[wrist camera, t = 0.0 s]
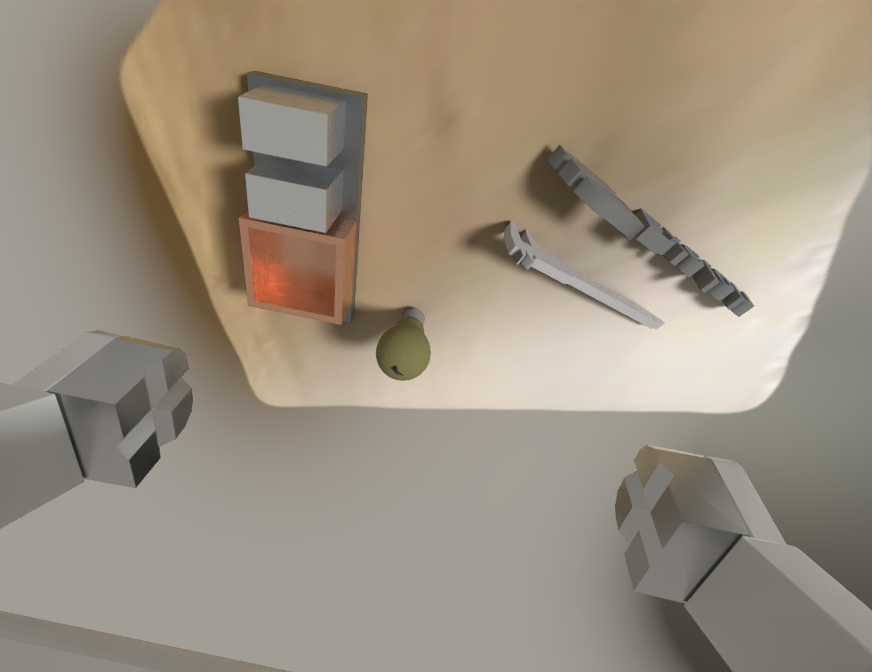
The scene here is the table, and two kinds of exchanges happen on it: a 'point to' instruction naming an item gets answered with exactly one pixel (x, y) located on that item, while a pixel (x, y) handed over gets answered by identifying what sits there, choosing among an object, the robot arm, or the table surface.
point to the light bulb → (404, 348)
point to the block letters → (645, 230)
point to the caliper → (570, 275)
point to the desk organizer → (302, 196)
